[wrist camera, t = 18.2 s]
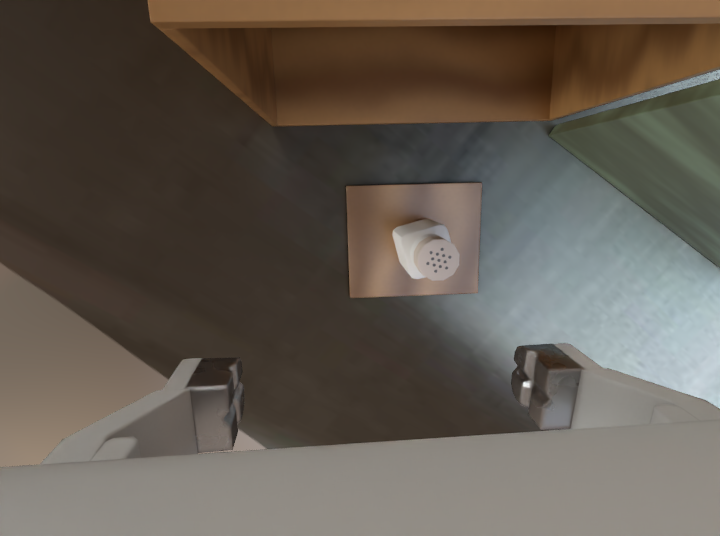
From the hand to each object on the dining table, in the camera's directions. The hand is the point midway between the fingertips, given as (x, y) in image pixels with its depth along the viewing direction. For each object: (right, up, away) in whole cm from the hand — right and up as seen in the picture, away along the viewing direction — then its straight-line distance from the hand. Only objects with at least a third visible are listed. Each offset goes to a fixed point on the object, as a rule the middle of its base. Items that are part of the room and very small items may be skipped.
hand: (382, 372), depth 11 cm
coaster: (+5, +6, +27) cm, 28 cm away
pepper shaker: (+5, +6, +27) cm, 28 cm away
